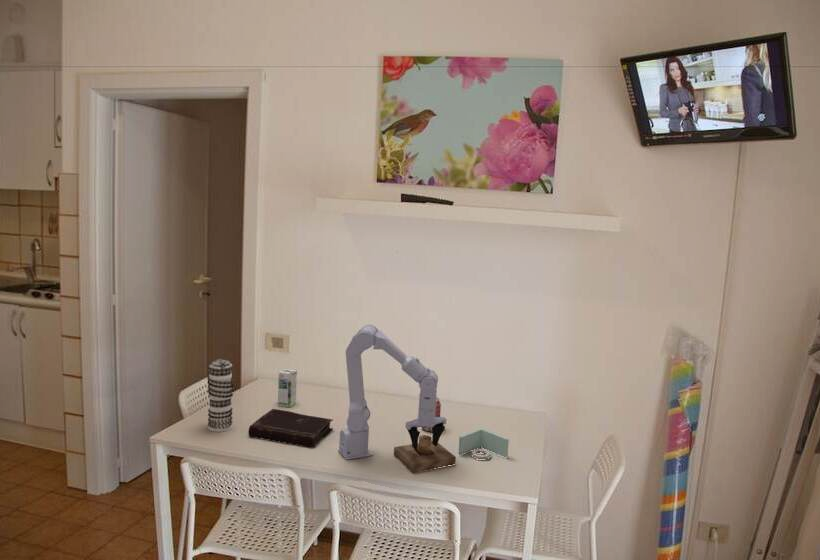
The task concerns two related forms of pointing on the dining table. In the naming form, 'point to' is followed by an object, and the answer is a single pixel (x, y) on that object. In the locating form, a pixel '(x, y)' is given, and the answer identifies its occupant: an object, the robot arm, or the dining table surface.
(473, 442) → the l-shaped corner panel
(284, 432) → the diary
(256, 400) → the dining table surface
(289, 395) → the syrup box
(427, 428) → the soda can
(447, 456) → the board
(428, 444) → the peg
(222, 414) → the decorative candle
